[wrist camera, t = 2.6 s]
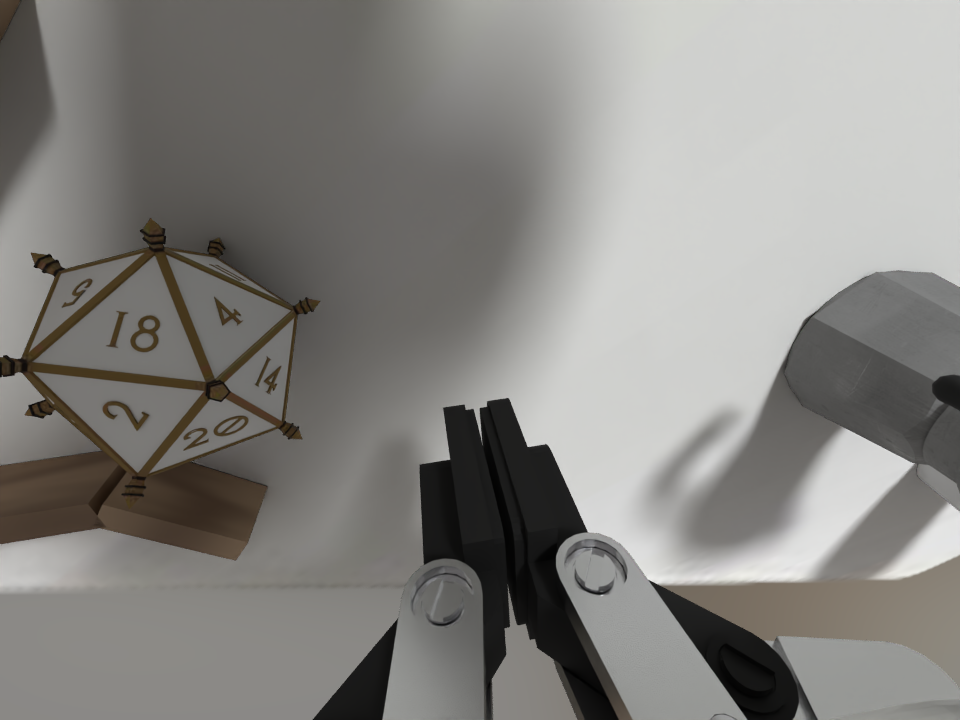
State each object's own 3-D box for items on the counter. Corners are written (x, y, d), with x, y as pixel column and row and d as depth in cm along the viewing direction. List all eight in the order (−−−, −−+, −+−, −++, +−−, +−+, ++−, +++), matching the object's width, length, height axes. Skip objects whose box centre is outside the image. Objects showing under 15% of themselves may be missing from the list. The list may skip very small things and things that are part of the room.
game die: (275, 250, 21) (390, 265, 14) (256, 418, 22) (353, 507, 15) (-4, 193, 14) (-45, 169, 7) (-10, 436, 15) (-51, 607, 9)
